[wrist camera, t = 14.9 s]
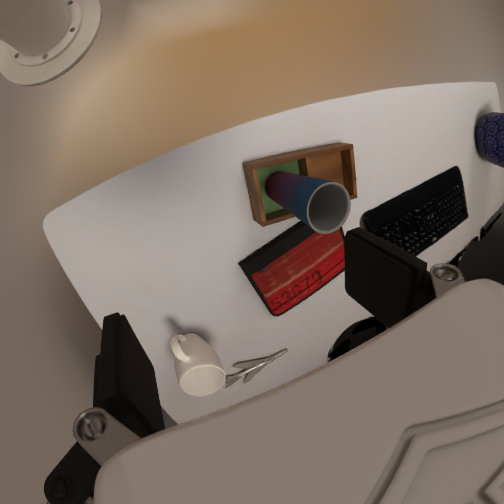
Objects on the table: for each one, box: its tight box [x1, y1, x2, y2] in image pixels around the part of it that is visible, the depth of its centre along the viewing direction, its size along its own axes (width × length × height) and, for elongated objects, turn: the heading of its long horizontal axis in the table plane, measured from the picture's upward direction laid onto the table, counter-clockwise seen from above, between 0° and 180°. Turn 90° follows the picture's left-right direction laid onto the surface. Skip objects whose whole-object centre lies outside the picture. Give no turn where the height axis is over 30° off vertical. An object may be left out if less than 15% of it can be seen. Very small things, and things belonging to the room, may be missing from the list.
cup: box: [265, 171, 350, 234], centre depth 42 cm, size 7×7×15 cm
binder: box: [239, 221, 345, 316], centre depth 57 cm, size 16×2×21 cm
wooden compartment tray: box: [243, 143, 357, 227], centre depth 49 cm, size 10×20×4 cm, turn 101°
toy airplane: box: [225, 349, 288, 388], centre depth 63 cm, size 8×21×2 cm, turn 109°
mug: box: [170, 333, 226, 396], centre depth 50 cm, size 12×8×11 cm
